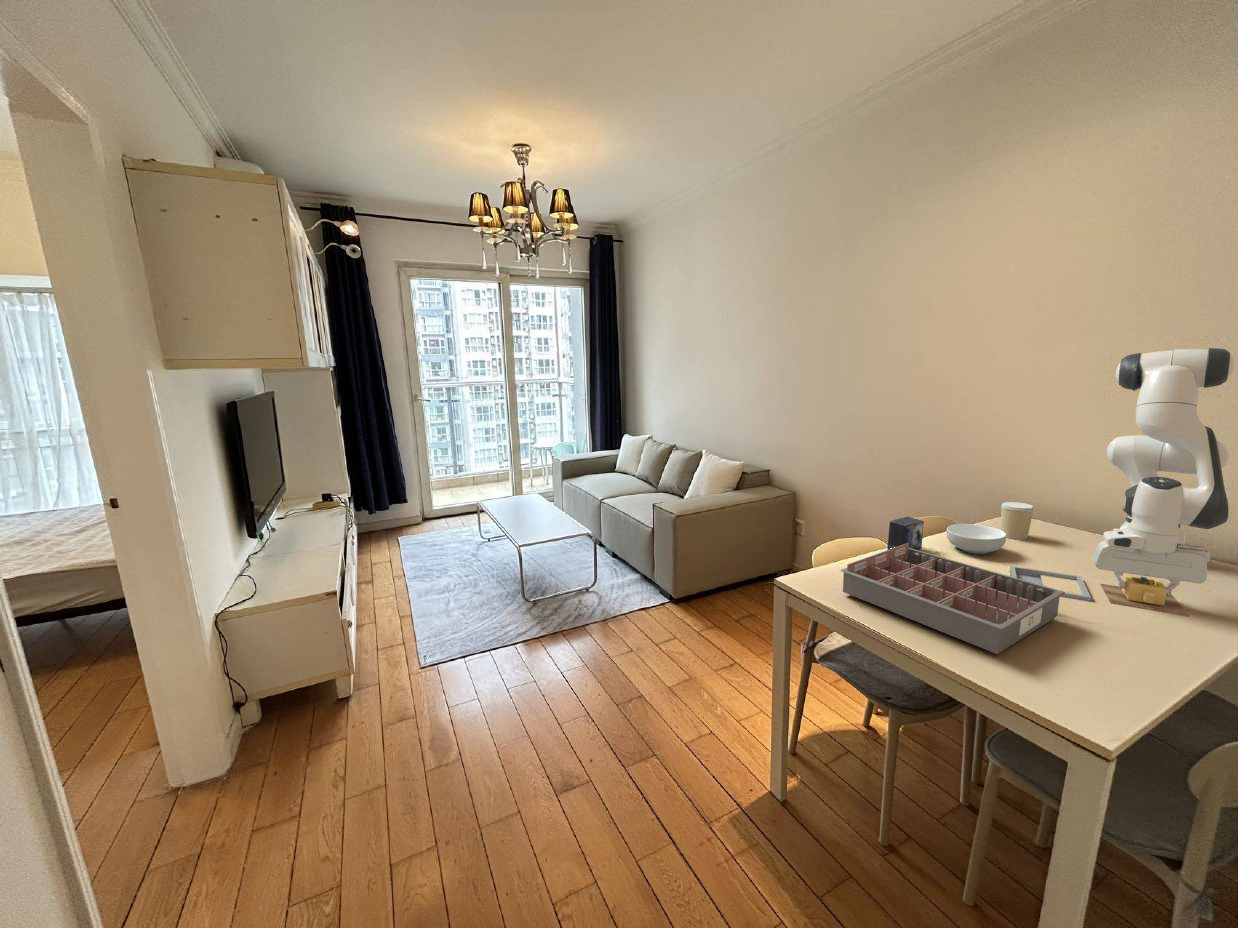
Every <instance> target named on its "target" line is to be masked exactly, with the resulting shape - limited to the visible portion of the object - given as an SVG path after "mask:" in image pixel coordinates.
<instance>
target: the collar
mask: <svg viewBox="0 0 1238 928" xmlns="http://www.w3.org/2000/svg"><path fill="white" fill-rule="evenodd" d="M1140 577H1141V576H1139V575H1132V574H1123V579H1122V580H1124V581H1126V582H1127V583H1128V584H1127V589H1124V588H1122V591H1123V593H1124V594H1125V596H1126V598H1127V599H1128V600H1133V601H1139V602H1145V603H1151V604H1157V605H1164V604H1165V598H1166V592H1167V588H1166V585H1164V583H1163V581H1161V580H1160V578H1153V577H1152V578H1151V577H1146V578H1147V579H1148V581H1149V582H1150V585H1146V584H1140V583H1139V581H1141V580H1140Z"/></svg>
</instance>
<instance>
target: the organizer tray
mask: <svg viewBox="0 0 1238 928" xmlns="http://www.w3.org/2000/svg"><path fill="white" fill-rule="evenodd" d="M839 571H840V572H843V581H842V593H845V594H848V595H850V596H852V597H855V598H857V599H859V600H862V601H865V602H868V603H869V604H873V605H875V606H876V607H878V608H879V607H880V608H882V609H885V610H887V611H889V612H892V613H894V614H896V615H898V616H902V617H904V618H907V619H909V620H912V621H914V622H917V623H919V624H921V625H924V626H927V627H929V628H931V629H935V630H937V631H939V632H942V633H944V634H946V635H949V636H951V637H954V638H956V639H959V640H960V641H964V642H966V643H969V644H971V645H974V646H976V647H978V648H981V649H984V650H986V651H988V652H991V653H993V654H995V655H998V654H1000V653H1001V652H1003V651H1005V650H1006V649H1008V648H1009V647H1011V646H1012V645H1014V644H1016V643H1017V642H1019V641H1021V640H1022V639H1023V638H1025V637H1027V636H1028V635H1030V634H1032V633H1033V632H1035V631H1036V630H1037V629H1039V628H1041V627H1043V626H1044V625H1045V624H1047V623H1049V622H1050V621H1052V620H1053V619H1055V618H1057V617H1058V612H1059V606H1060V605H1059V604H1060V598H1061V597H1062V596H1061V595H1063V594H1065V592H1066V591H1064V590H1059V589H1056V588H1052V587H1048V586H1045V585H1043V586H1042V585H1039V584H1035V583H1032V582H1028V581H1024V580H1021V579H1017V578H1014V577H1010V575H1006V574H1004V573H999V572H997V571H991V570H989V569H985V568H981V567H979V566H975V565H971V564H967V563H964V562H961V561H957V560H953V559H950V558H946V557H943V556H939V555H937V554H932V553H929V552H925V551H922V550H919V549H918V550H915V549H911V548H909V543H907V544H904V545H901V546H898V547H895V548H892V549H887V550H884V551H881V552H879V553H875V554H873V555H870V556H867V557H864V558H862V559H858V560H855V561H854V562H849V563H847V566H846V567H845V568H842V569H840V570H839Z"/></svg>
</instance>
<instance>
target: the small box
mask: <svg viewBox="0 0 1238 928" xmlns="http://www.w3.org/2000/svg"><path fill="white" fill-rule="evenodd" d="M924 524H925V521H924V520H921V519H918V518H914V517H911V516H905V517H900V518H897V519H893V520H890V521H889V525H888V526H889V527H888V540H887V548H886V549H887V550H889V549H890V548H894V547H898V546H901V545H904V544H907V543H909V548H911V549H915V550H918V551H919V550H921V549H922V546H923V534H924Z"/></svg>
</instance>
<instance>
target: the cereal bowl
mask: <svg viewBox="0 0 1238 928" xmlns="http://www.w3.org/2000/svg"><path fill="white" fill-rule="evenodd" d="M946 536H947V537H946V538H947V540H948V542H949V543H950V544H951V545H952V546H954V547H956V548H958V549H961V550H962V551H963V552H966V553H969V554H974V555H986V554H989V553H992V552H997V551H999V550H1001V548H1003V547H1004V546H1005V544H1006V541H1007V538H1006V533H1005V532H1003V531H1001V529H998V528H996V527H992V526H989V525H981V524H975V523H974V524H972V523H956V524H955V523H954V524H951V525H948V527H946Z"/></svg>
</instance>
